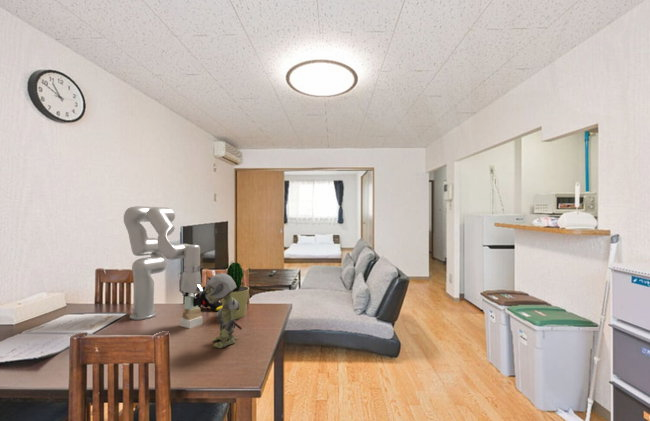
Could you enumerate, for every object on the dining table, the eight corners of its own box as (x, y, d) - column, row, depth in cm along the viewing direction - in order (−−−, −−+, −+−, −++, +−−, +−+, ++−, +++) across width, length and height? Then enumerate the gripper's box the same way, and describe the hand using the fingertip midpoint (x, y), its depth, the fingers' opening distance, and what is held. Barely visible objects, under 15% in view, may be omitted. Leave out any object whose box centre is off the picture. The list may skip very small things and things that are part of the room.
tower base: (179, 326, 152) (179, 318, 152) (192, 321, 159) (192, 314, 159) (189, 329, 149) (190, 320, 149) (202, 324, 155) (202, 316, 155)
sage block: (184, 308, 153) (184, 296, 153) (192, 306, 157) (192, 294, 157) (190, 310, 151) (190, 297, 151) (198, 307, 155) (198, 295, 155)
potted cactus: (252, 312, 175) (253, 259, 176) (242, 321, 160) (243, 263, 160) (227, 310, 177) (227, 259, 177) (214, 319, 161) (215, 262, 162)
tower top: (182, 317, 153) (182, 308, 153) (193, 314, 158) (193, 305, 158) (189, 320, 150) (189, 310, 150) (200, 316, 155) (200, 307, 155)
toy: (203, 338, 137) (205, 271, 137) (241, 334, 142) (242, 269, 143) (203, 352, 122) (204, 277, 123) (244, 347, 128) (245, 275, 129)
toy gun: (207, 324, 176) (219, 308, 174) (188, 303, 181) (198, 287, 179) (213, 321, 181) (224, 305, 179) (194, 300, 186) (204, 285, 184)
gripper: (174, 268, 155) (173, 304, 155) (197, 272, 147) (196, 309, 147) (186, 266, 162) (186, 300, 161) (209, 269, 154) (209, 305, 153)
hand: (191, 304), depth 154 cm, fingers open, 6 cm apart
